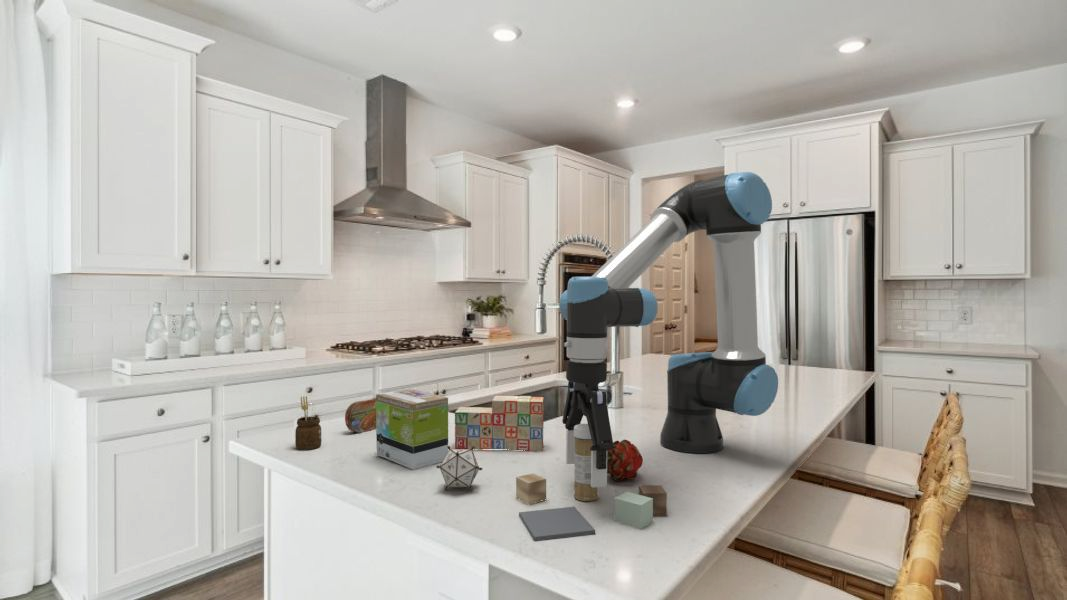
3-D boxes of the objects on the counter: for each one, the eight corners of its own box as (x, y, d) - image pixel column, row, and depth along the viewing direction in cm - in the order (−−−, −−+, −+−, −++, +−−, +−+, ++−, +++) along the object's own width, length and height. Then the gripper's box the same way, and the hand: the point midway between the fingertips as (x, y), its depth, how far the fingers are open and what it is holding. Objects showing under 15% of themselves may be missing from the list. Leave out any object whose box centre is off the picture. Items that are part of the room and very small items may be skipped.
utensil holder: (300, 452, 134) (300, 401, 134) (291, 446, 139) (291, 397, 138) (325, 447, 138) (325, 398, 138) (315, 442, 143) (315, 394, 142)
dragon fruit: (607, 495, 111) (624, 485, 121) (643, 474, 108) (657, 465, 119) (585, 456, 114) (603, 449, 124) (619, 434, 111) (635, 430, 122)
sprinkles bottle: (596, 493, 107) (596, 422, 107) (599, 502, 103) (600, 428, 103) (572, 493, 107) (572, 422, 107) (574, 502, 103) (575, 428, 102)
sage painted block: (626, 514, 98) (626, 491, 98) (652, 522, 94) (652, 498, 94) (614, 521, 95) (614, 497, 94) (640, 529, 91) (640, 505, 91)
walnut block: (661, 507, 101) (661, 485, 101) (666, 516, 97) (666, 493, 97) (638, 507, 101) (638, 485, 101) (643, 516, 97) (643, 493, 97)
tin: (350, 435, 149) (350, 404, 149) (342, 434, 151) (342, 402, 151) (393, 424, 162) (393, 395, 162) (385, 423, 164) (385, 394, 163)
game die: (462, 511, 108) (456, 480, 102) (431, 487, 112) (424, 456, 106) (493, 478, 114) (489, 447, 107) (462, 457, 118) (457, 426, 112)
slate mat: (574, 509, 99) (574, 506, 99) (595, 533, 89) (595, 529, 89) (519, 515, 96) (519, 512, 96) (534, 540, 87) (534, 536, 87)
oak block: (533, 494, 107) (533, 473, 107) (546, 500, 104) (546, 478, 104) (516, 498, 105) (516, 477, 105) (528, 505, 102) (528, 483, 101)
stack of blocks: (454, 450, 136) (454, 399, 136) (459, 443, 143) (459, 394, 142) (542, 452, 135) (542, 400, 135) (543, 445, 141) (544, 396, 141)
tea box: (374, 456, 130) (374, 393, 130) (411, 448, 138) (411, 387, 138) (412, 471, 120) (412, 402, 120) (449, 460, 128) (450, 395, 127)
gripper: (547, 353, 116) (546, 456, 116) (591, 369, 92) (590, 499, 92) (582, 352, 118) (581, 454, 118) (634, 368, 93) (632, 495, 94)
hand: (585, 474), depth 105 cm, fingers open, 13 cm apart
